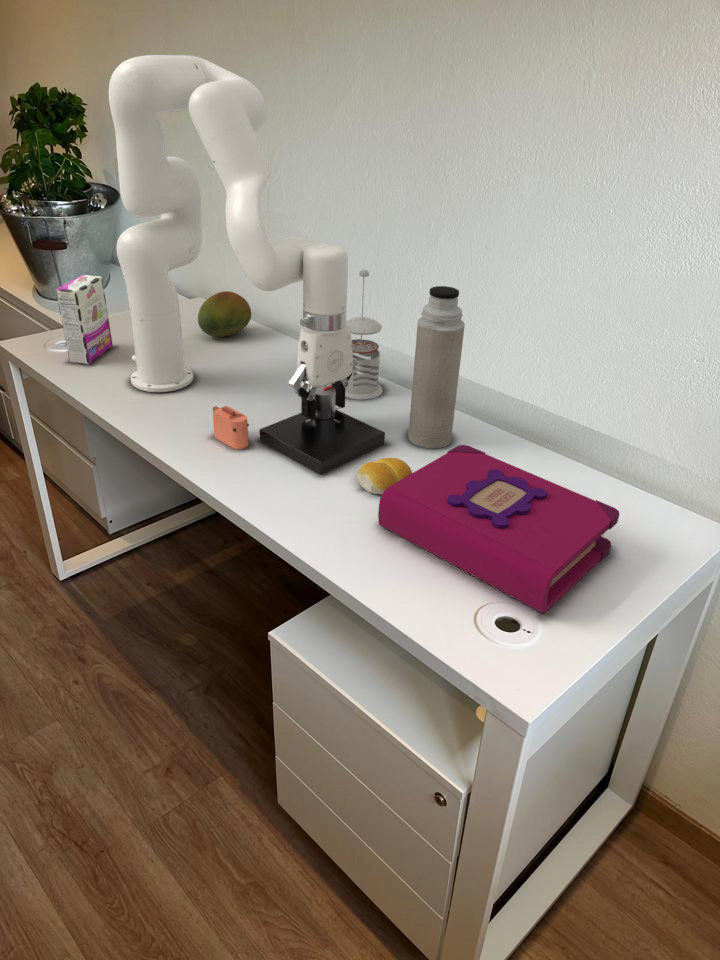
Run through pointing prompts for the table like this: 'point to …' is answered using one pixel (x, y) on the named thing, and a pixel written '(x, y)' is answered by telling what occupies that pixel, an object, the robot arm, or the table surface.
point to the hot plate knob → (325, 402)
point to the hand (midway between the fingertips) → (323, 410)
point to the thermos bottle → (436, 369)
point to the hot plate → (322, 440)
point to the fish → (230, 427)
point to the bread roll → (382, 474)
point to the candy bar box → (84, 318)
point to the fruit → (224, 314)
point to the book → (500, 524)
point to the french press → (368, 382)
